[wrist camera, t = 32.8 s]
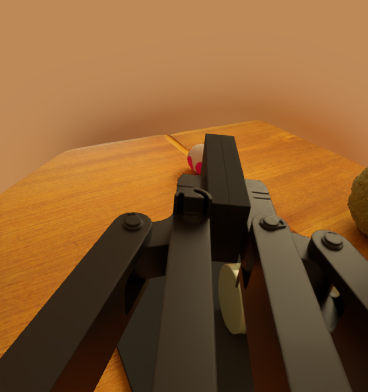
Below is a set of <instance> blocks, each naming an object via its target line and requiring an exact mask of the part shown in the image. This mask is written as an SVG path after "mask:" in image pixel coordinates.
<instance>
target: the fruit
mask: <svg viewBox="0 0 368 392" xmlns="http://www.w3.org/2000/svg"><path fill="white" fill-rule="evenodd" d="M351 190H352V193H351V195H350V196H349V199H348V204H347V205H348V206H349V207H348V208H349V209H350V212H351V216H352V218H353V220H354V221H355V224H356V226H357V228H358V229H359V230H360V231H361V232H362V233H363V234H366V235H367V237H368V167H367V168H366V170H364V171H362V173H361V174H360V175H359V176H357V177H356V179H355V180H353V184H352V188H351Z"/></svg>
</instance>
